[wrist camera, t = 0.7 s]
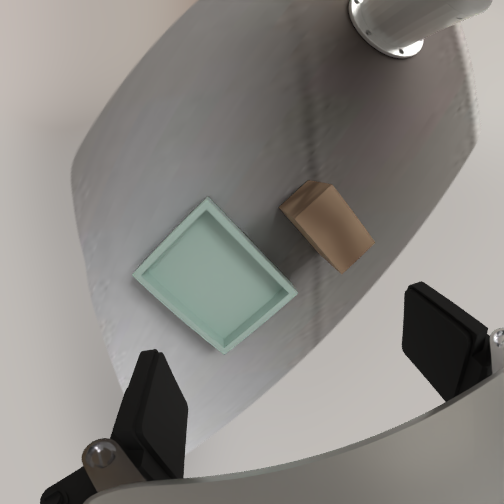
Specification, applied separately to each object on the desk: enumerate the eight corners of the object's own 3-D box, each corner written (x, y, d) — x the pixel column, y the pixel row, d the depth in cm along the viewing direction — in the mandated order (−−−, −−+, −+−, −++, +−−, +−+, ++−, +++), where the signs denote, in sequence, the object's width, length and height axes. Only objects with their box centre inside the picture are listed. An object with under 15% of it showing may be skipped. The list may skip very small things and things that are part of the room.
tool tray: (207, 196, 34) (206, 198, 31) (292, 284, 39) (298, 293, 36) (138, 266, 36) (131, 275, 33) (223, 342, 40) (224, 355, 37)
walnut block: (308, 180, 35) (332, 184, 27) (346, 227, 37) (375, 242, 30) (278, 207, 36) (294, 218, 28) (318, 253, 38) (341, 274, 30)
